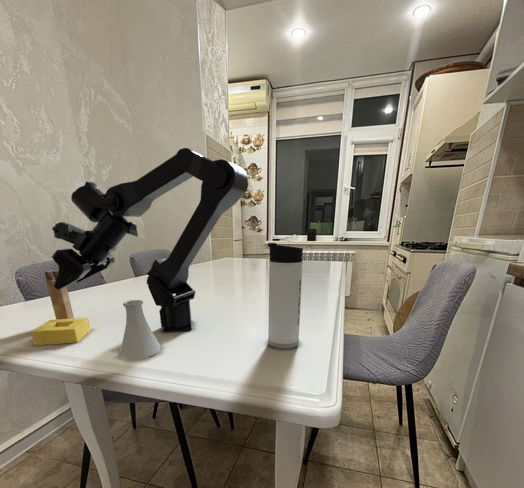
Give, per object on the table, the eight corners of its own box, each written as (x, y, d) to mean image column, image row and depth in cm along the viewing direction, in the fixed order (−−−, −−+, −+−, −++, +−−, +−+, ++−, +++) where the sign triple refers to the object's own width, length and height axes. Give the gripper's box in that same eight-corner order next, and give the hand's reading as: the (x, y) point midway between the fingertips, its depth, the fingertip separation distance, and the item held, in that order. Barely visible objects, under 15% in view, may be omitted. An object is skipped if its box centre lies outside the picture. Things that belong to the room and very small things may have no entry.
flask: (147, 362, 52) (139, 308, 48) (111, 358, 53) (101, 305, 50) (167, 346, 59) (161, 298, 55) (135, 343, 60) (127, 296, 56)
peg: (74, 321, 74) (62, 269, 70) (69, 324, 72) (56, 271, 67) (63, 321, 74) (50, 269, 70) (57, 324, 72) (43, 271, 67)
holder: (91, 329, 68) (88, 317, 67) (77, 342, 61) (74, 329, 60) (53, 332, 67) (49, 319, 66) (34, 345, 59) (30, 331, 58)
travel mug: (262, 340, 62) (262, 242, 55) (289, 336, 64) (292, 241, 57) (275, 351, 56) (277, 243, 49) (304, 346, 59) (310, 243, 52)
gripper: (93, 211, 73) (57, 256, 76) (50, 206, 56) (6, 265, 59) (130, 243, 77) (94, 285, 80) (101, 249, 60) (57, 302, 62)
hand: (66, 284), depth 70 cm, fingers open, 9 cm apart
